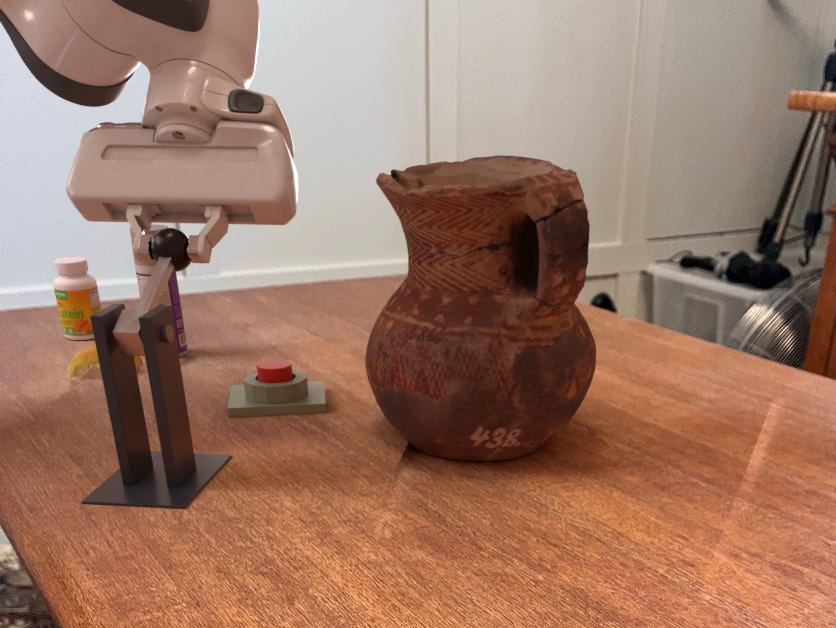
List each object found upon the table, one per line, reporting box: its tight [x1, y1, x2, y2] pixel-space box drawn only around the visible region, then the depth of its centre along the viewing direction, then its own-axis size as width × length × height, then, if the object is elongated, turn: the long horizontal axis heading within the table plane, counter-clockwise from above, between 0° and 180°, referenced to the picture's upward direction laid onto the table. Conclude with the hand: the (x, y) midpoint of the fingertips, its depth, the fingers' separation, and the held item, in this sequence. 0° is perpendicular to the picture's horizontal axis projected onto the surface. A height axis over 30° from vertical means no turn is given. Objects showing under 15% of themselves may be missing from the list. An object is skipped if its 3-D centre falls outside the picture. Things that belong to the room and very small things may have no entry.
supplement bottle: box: [52, 256, 103, 341], centre depth 133 cm, size 5×5×10 cm
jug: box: [364, 154, 597, 463], centre depth 95 cm, size 22×21×25 cm
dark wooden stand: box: [81, 303, 233, 510], centre depth 86 cm, size 12×9×16 cm
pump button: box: [256, 359, 293, 383], centre depth 106 cm, size 4×4×2 cm
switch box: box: [226, 368, 328, 418], centre depth 107 cm, size 10×8×4 cm
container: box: [129, 224, 189, 358], centre depth 124 cm, size 5×5×15 cm
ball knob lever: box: [112, 227, 192, 357], centre depth 86 cm, size 14×4×4 cm, turn 173°
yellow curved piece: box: [66, 344, 144, 386], centre depth 118 cm, size 8×9×4 cm
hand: (171, 258), depth 88 cm, fingers closed on ball knob lever, 3 cm apart
